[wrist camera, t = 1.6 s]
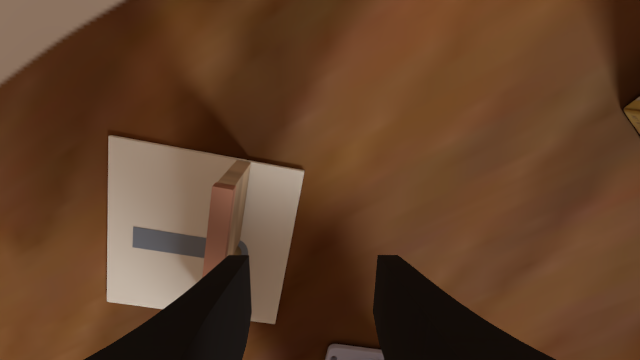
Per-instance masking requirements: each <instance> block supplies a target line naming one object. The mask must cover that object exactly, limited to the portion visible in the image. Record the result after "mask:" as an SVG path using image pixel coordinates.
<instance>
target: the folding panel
mask: <svg viewBox="0 0 640 360" xmlns="http://www.w3.org/2000/svg"><path fill="white" fill-rule="evenodd" d="M250 166H251V163H250V162H245V161H239V160H237V161H236V162H235V163H234V164H233V165H232V166H231V167H230V168H229V169H228V171H227V172H226V173H225V174H224V175H223V176H222V177H221V178H220V180H219V181H218V182H216V183H215V184H214V185H213V186H212V191H211V201H210V210H209V219H208V228H207V238H206V247H205V256H204V265H203V274H202V278H203V277H204V276H205V275H206V274H208V273H209V272H210V271H211V270H212V269H213V268H214V267H216V266H217V265H218V264H219V263H220V262H221V261H222V260H223V259H225V258H226V257H227V256H228V255H234V253H235V251H236V248H237V246H238V244H239V241H240V237H241V230H242V223H243V216H244V209H245V202H246V195H247V187H248V180H249V173H250Z"/></svg>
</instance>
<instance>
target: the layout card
mask: <svg viewBox="0 0 640 360" xmlns="http://www.w3.org/2000/svg"><path fill="white" fill-rule="evenodd" d="M237 160H239V161H245V162H250V163H251V166H250V173H249V180H248V187H247V195H246V202H245V209H244V216H243V223H242V230H241V237H240V241H239V244H238V246H239V247H240V249H241V252H242V254H241V255H249V264H250V285H251V306H252V314H251V320H250V321H254V322H262V323H269V324H275V322H276V316H277V311H278V306H279V301H280V296H281V291H282V285H283V280H284V275H285V270H286V265H287V260H288V254H289V249H290V244H291V239H292V234H293V228H294V223H295V218H296V213H297V208H298V203H299V197H300V192H301V187H302V182H303V177H304V171H305V170H300V169H295V168H289V167H284V166H278V165H273V164H267V163H262V162H256V161H251V160H246V159H240V158H235V157H229V156H224V155H218V154H213V153H207V152H202V151H196V150H191V149H185V148H180V147H174V146H169V145H163V144H158V143H152V142H147V141H141V140H136V139H130V138H125V137H119V136H114V135H110V136H108V234H107V302H114V303H121V304H128V305H136V306H143V307H151V308H158V309H164V308H165V307H167V306H168V305H169V304H171V303H172V302H173V301H175V300H176V299H177V298H179V297H180V296H181V295H182V294H184V293H185V292H186V291H188V290H189V289H190V288H191V287H192V286H193V285H195V284H196V283H197V282H198V281H199V280H201V279H202V274H203V265H204V256H205V247H206V238H207V228H208V219H209V210H210V201H211V191H212V186H213V185H214V184H215V183H216V182H218V181H219V180H220V178H221V177H222V176H223V175H224V174H225V173H226V172H227V171H228V169H229V168H230V167H231V166H232V165H233V164H234V163H235V162H236V161H237Z"/></svg>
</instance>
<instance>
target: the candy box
mask: <svg viewBox="0 0 640 360" xmlns="http://www.w3.org/2000/svg"><path fill="white" fill-rule="evenodd" d="M623 110H624V112H625V114H626V115H627V117H628V118H629V120H630V122H632V124H633V125H634V127H635V128H636V130H637V131H638V133H639V134H640V97H638V98H637V99H636V100H634V101H633V102H631V103H630V104H629V105H627V106H626V107H625V108H624V109H623Z"/></svg>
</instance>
